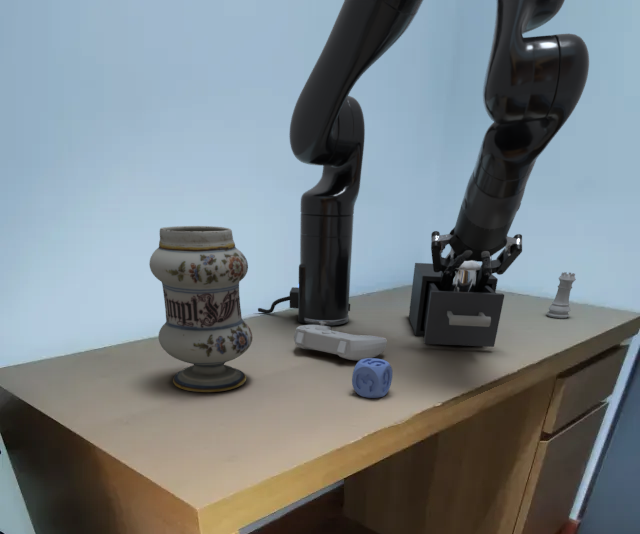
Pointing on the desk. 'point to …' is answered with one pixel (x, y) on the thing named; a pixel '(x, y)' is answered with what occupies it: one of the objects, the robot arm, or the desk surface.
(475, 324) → the drawer
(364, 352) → the game controller
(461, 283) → the milkshake
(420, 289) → the small filing cabinet
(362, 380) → the decorative dice
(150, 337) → the desk surface
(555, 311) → the rook chess piece
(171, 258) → the apothecary jar
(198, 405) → the desk surface
